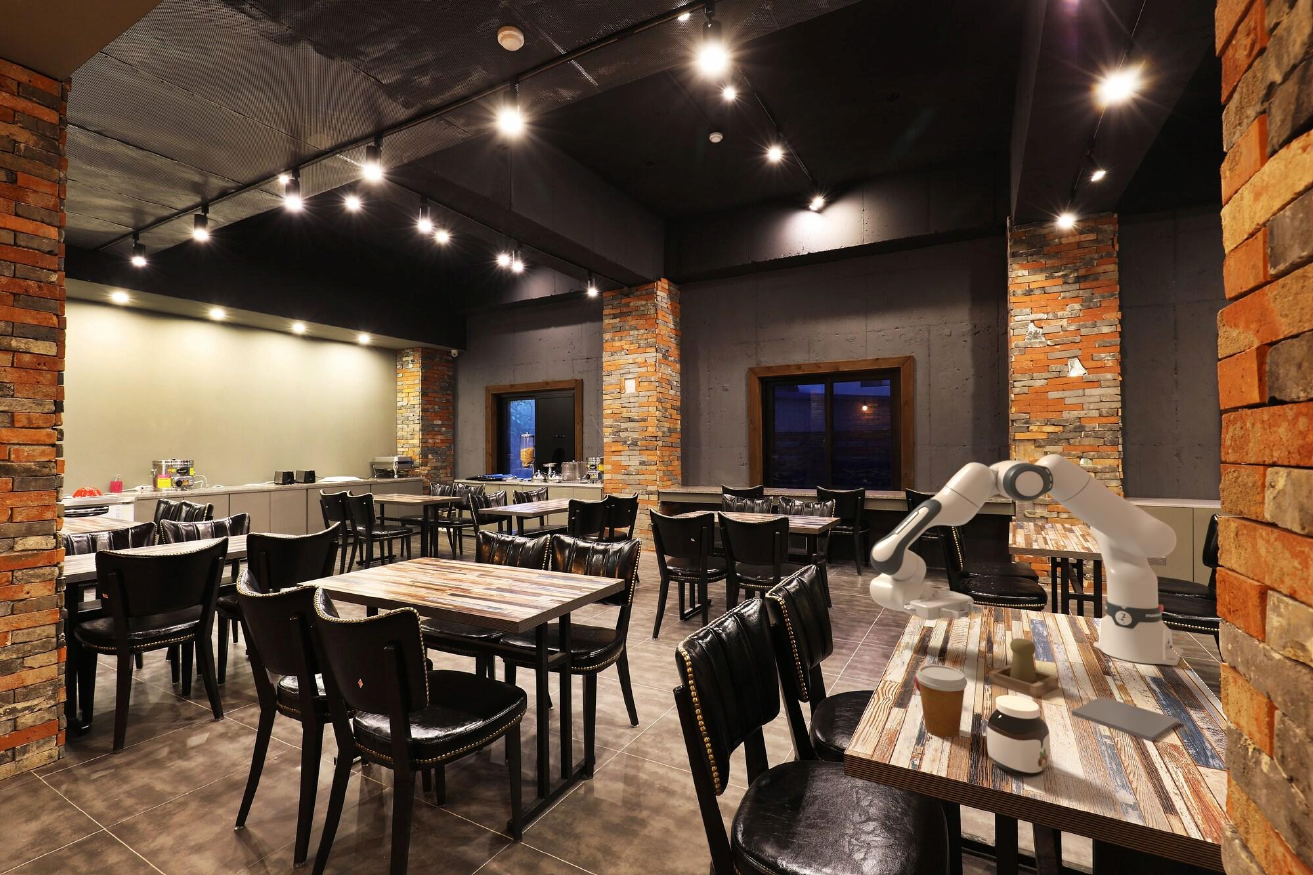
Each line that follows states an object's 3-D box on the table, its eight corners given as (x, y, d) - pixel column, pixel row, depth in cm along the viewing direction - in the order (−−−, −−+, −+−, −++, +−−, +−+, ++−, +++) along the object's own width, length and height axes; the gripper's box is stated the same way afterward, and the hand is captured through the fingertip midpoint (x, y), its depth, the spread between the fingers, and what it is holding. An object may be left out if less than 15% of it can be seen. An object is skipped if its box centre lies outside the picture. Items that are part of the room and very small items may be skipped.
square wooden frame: (1012, 673, 153) (1012, 663, 153) (1058, 687, 143) (1058, 677, 143) (989, 682, 147) (988, 672, 147) (1035, 697, 138) (1035, 687, 138)
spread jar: (1020, 784, 103) (1018, 716, 103) (963, 754, 113) (962, 692, 114) (1064, 768, 108) (1063, 704, 108) (1006, 740, 118) (1005, 681, 118)
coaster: (1101, 699, 136) (1101, 695, 136) (1179, 723, 125) (1179, 719, 125) (1072, 714, 129) (1072, 710, 129) (1151, 741, 117) (1151, 737, 117)
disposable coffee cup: (966, 746, 116) (964, 684, 116) (913, 734, 121) (912, 675, 121) (970, 727, 124) (969, 669, 124) (920, 716, 129) (919, 660, 129)
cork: (1042, 690, 142) (1041, 644, 142) (1014, 689, 143) (1013, 643, 143) (1032, 681, 147) (1031, 636, 148) (1005, 679, 149) (1004, 635, 149)
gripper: (899, 594, 162) (946, 606, 151) (943, 585, 173) (991, 596, 161) (899, 618, 162) (947, 631, 151) (943, 607, 173) (991, 619, 161)
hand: (970, 613), depth 156 cm, fingers open, 8 cm apart
